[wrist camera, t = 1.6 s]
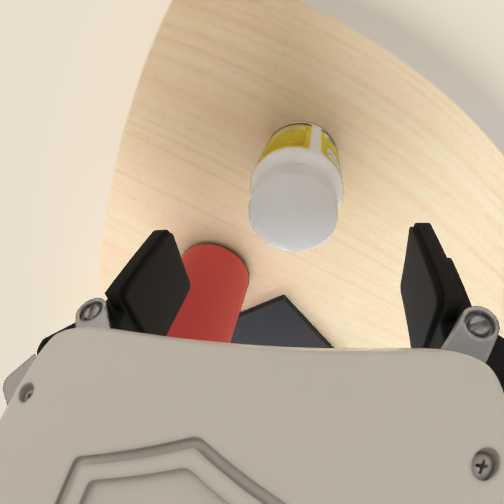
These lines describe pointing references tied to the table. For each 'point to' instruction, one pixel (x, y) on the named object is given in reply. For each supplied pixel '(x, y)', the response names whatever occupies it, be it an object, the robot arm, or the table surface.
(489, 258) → the table surface
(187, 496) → the robot arm
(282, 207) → the supplement bottle
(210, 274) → the beer can
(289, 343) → the mat
